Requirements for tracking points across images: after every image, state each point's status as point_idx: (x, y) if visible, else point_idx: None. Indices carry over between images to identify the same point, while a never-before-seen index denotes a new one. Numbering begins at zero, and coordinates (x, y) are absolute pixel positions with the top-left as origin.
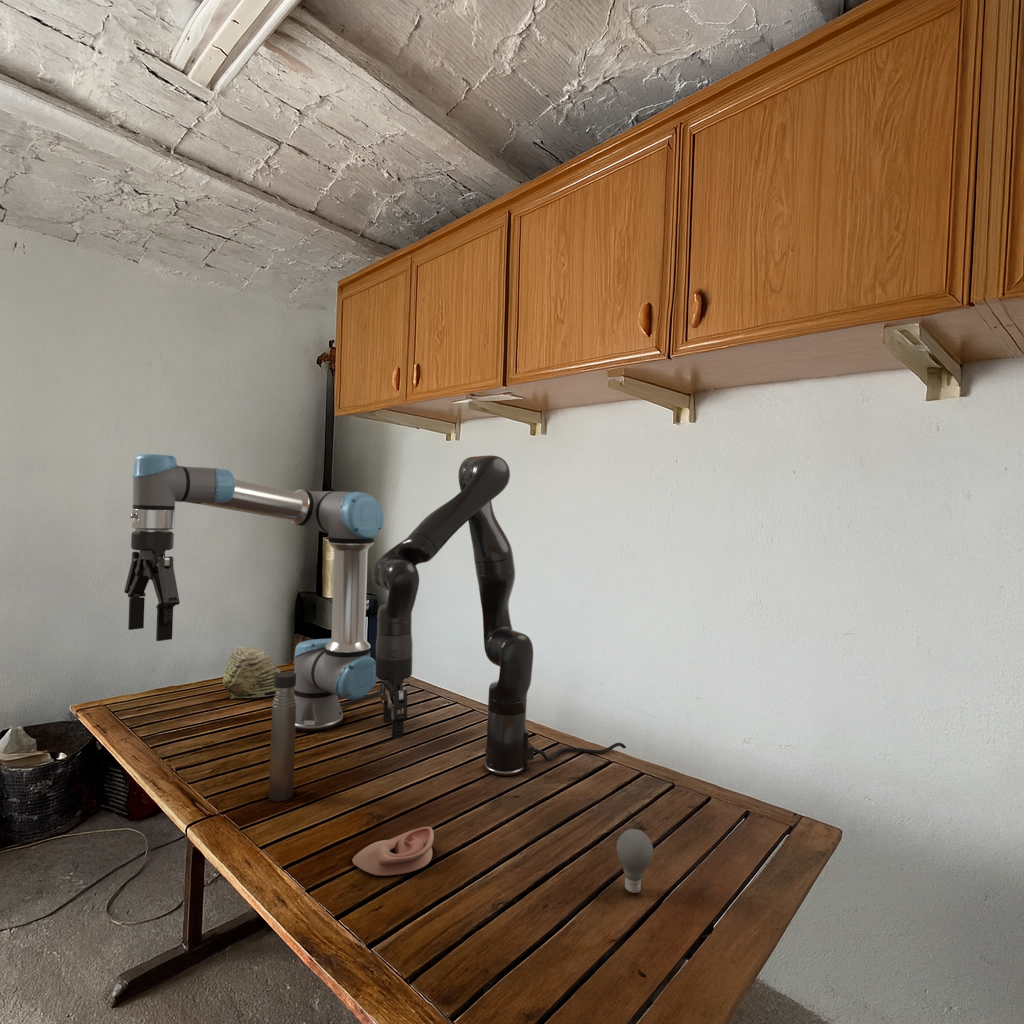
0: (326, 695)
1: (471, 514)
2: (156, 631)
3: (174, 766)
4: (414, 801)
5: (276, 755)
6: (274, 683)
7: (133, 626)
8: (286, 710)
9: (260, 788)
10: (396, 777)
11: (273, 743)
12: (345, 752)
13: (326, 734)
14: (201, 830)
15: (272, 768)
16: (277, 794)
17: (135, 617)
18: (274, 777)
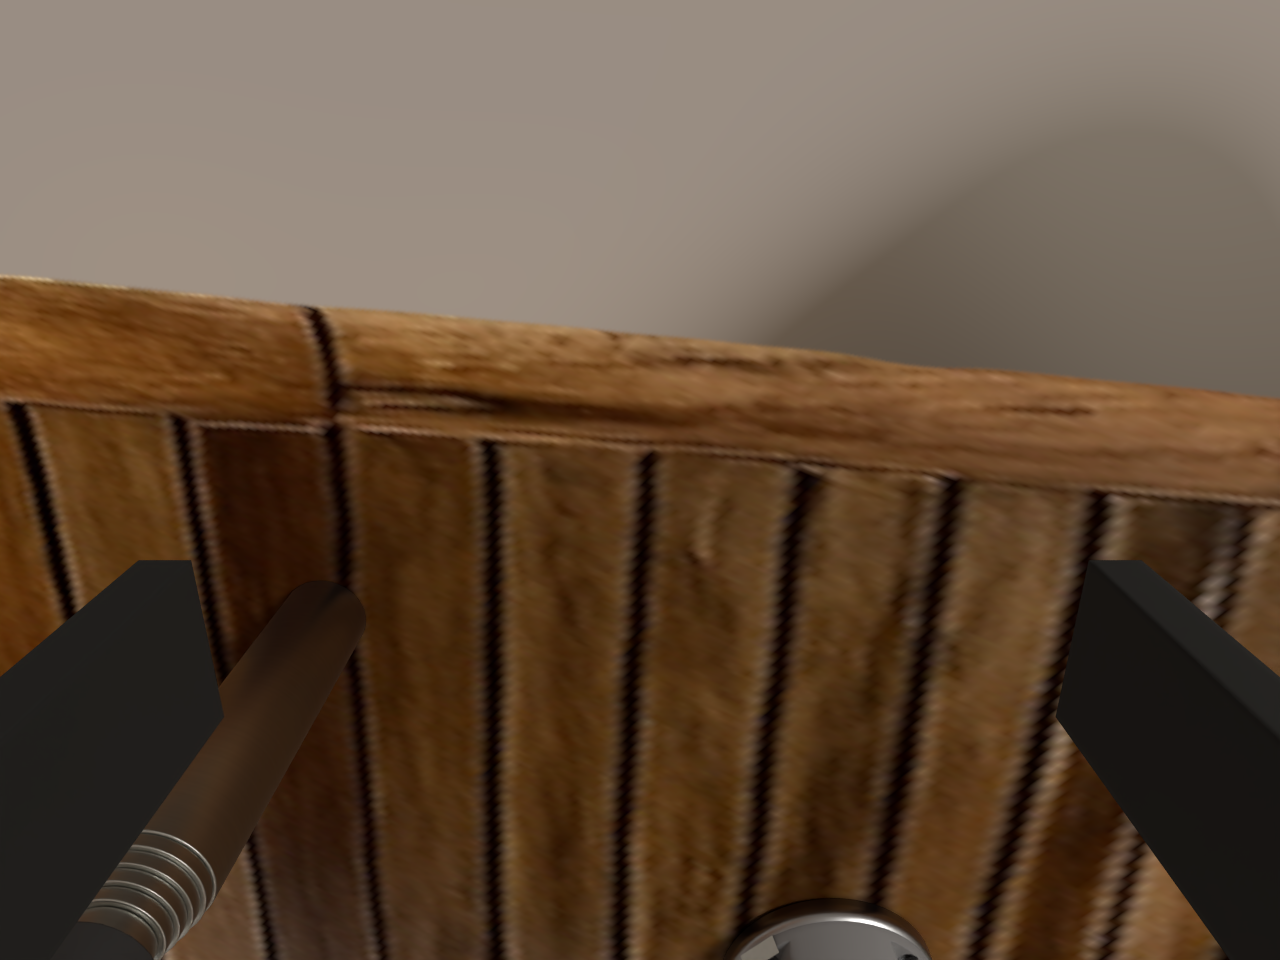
0: None
1: None
2: (114, 626)
3: (841, 480)
4: None
5: (229, 679)
6: (85, 939)
7: (1104, 627)
8: None
9: (429, 600)
10: (220, 902)
11: (222, 704)
12: (504, 907)
13: (693, 946)
14: (250, 325)
15: (270, 642)
16: (285, 601)
17: (1173, 731)
18: (270, 627)
